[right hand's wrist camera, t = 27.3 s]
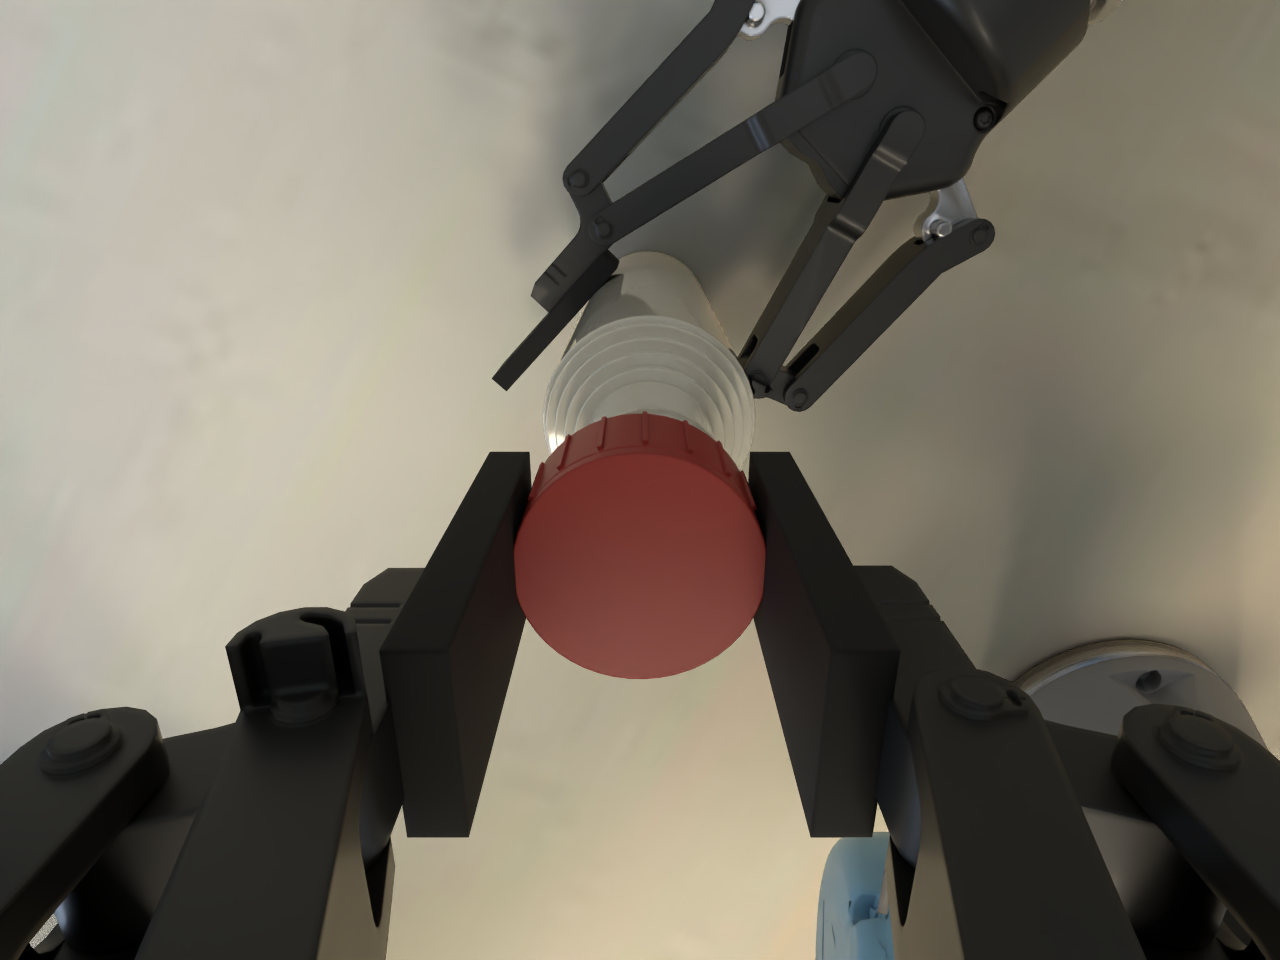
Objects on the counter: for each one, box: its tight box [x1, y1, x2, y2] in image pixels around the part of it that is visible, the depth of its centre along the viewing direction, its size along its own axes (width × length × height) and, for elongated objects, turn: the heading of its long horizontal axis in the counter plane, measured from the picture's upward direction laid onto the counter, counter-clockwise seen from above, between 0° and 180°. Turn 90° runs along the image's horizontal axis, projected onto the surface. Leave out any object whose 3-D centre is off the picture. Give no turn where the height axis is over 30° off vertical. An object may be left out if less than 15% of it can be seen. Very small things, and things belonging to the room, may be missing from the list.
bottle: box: [543, 251, 756, 471], centre depth 26 cm, size 6×6×22 cm
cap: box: [514, 411, 766, 679], centre depth 14 cm, size 4×4×2 cm
